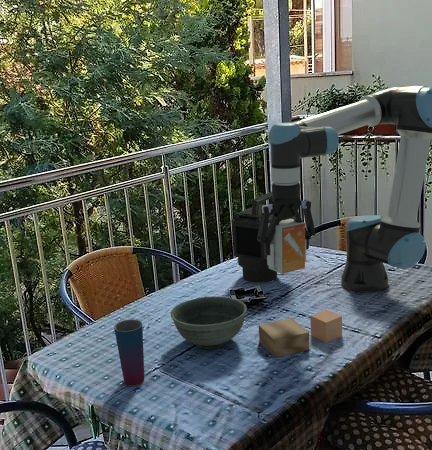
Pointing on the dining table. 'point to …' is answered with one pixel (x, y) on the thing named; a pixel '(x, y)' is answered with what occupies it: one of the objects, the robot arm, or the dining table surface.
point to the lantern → (252, 242)
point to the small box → (289, 246)
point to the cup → (130, 350)
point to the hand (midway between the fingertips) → (286, 263)
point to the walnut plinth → (283, 337)
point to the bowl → (209, 320)
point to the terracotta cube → (326, 326)
